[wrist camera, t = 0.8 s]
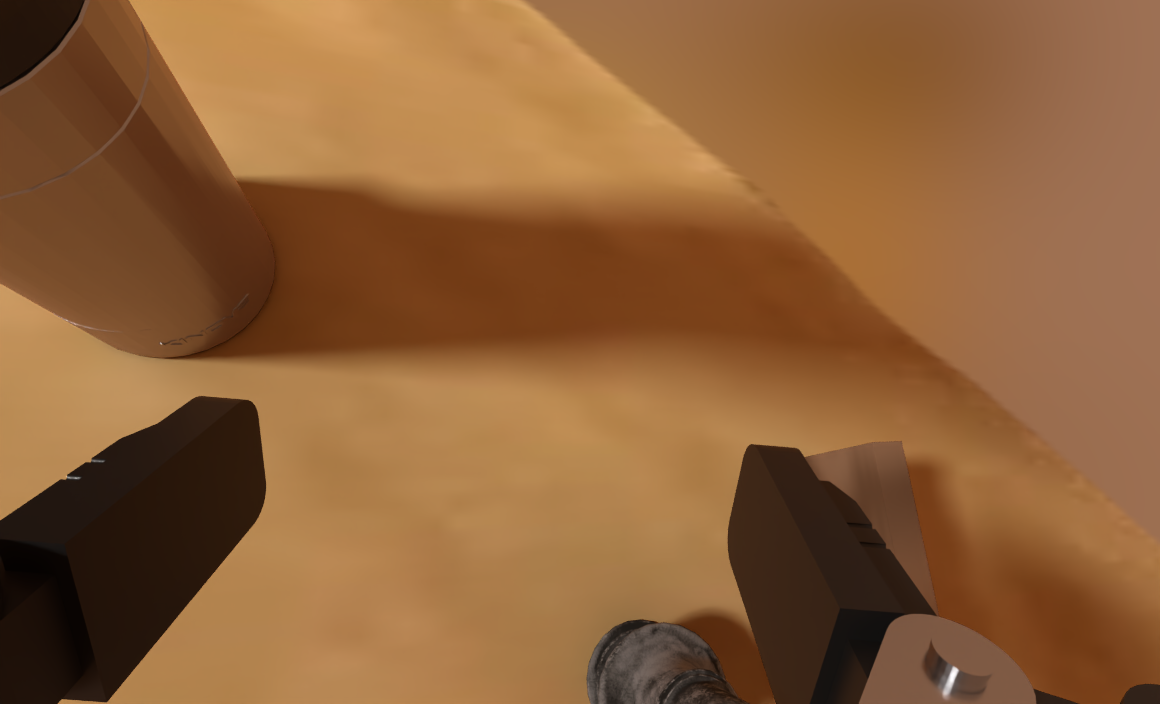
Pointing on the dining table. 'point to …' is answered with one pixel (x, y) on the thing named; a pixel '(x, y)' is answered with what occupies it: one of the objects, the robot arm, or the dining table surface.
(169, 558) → the robot arm
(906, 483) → the walnut screen
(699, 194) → the dining table surface
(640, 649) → the dark metal turned piece
